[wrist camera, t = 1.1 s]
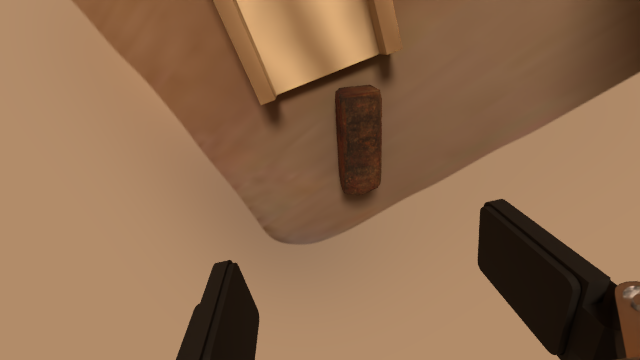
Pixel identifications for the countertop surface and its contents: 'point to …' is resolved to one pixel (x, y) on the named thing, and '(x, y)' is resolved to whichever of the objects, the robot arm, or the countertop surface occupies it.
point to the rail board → (305, 38)
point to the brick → (359, 138)
